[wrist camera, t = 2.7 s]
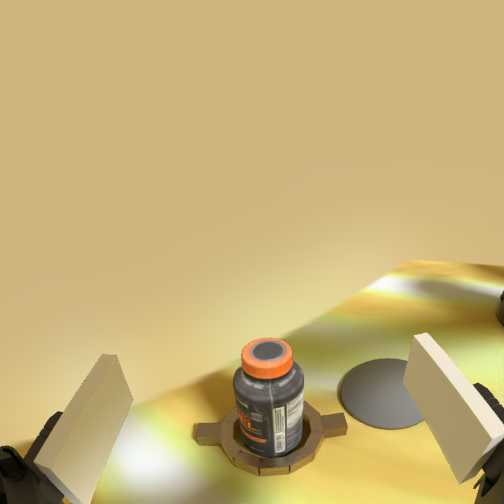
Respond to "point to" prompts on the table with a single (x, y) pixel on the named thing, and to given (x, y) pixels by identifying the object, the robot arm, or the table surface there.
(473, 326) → the table surface
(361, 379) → the coaster
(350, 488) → the table surface
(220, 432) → the collar
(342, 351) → the table surface
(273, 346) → the pill bottle
